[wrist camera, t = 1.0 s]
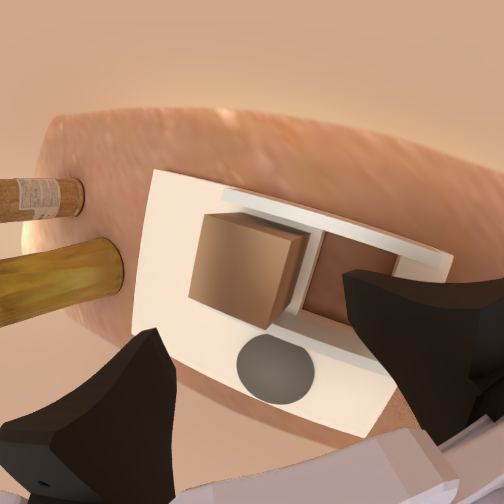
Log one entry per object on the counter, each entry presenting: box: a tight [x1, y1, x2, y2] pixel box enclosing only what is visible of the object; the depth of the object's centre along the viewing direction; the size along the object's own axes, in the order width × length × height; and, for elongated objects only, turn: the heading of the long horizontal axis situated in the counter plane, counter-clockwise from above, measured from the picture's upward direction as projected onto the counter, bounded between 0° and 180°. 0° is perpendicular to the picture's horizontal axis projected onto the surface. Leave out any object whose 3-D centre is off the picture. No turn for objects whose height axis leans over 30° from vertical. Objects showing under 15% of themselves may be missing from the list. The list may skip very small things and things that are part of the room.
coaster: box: [236, 334, 315, 405], centre depth 22 cm, size 6×6×1 cm
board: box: [131, 169, 454, 438], centre depth 22 cm, size 23×16×2 cm
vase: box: [0, 238, 123, 328], centre depth 23 cm, size 6×6×14 cm
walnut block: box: [188, 212, 311, 330], centre depth 19 cm, size 5×5×5 cm
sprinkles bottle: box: [0, 178, 83, 223], centre depth 24 cm, size 5×5×14 cm
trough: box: [199, 188, 443, 378], centre depth 18 cm, size 14×8×2 cm, turn 76°
